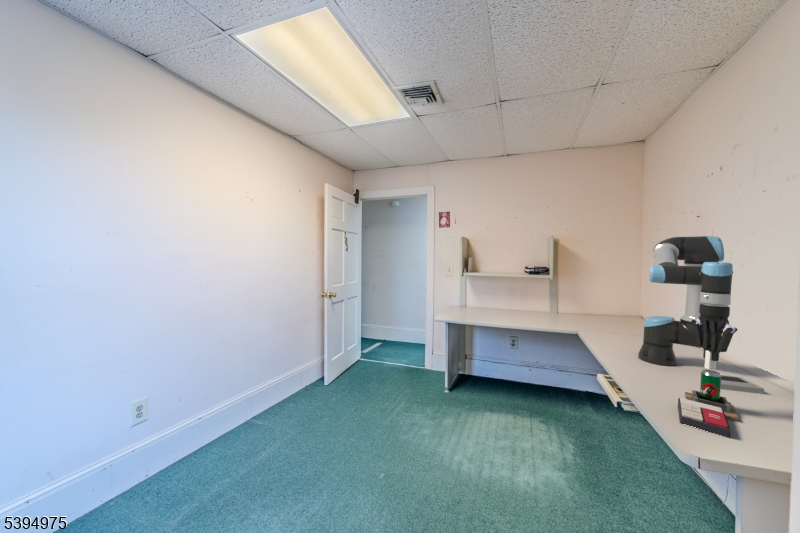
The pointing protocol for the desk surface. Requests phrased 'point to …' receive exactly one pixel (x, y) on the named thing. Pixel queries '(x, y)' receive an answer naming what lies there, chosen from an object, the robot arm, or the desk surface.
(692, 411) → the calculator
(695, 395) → the can holder
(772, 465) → the desk surface
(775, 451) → the desk surface
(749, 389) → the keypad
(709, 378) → the soda can
